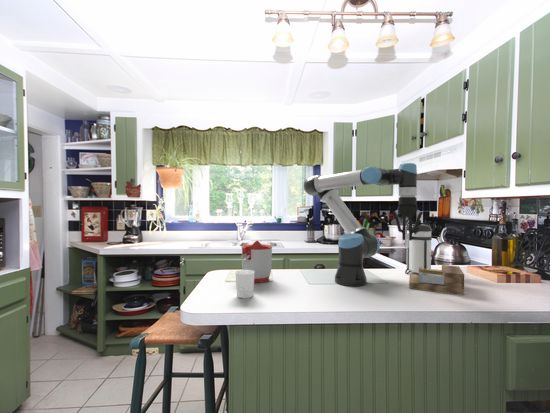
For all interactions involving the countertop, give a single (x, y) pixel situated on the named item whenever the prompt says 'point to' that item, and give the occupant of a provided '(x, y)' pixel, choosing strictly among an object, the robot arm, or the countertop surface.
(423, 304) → the countertop surface
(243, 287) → the white cup
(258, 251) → the citrus juicer
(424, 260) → the coffee press
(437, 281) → the grey steel plug
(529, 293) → the countertop surface
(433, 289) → the socket block
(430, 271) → the brass plug
